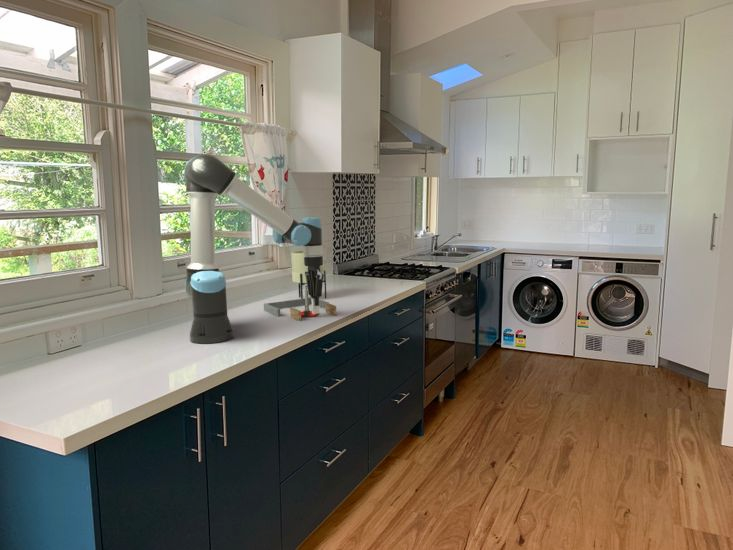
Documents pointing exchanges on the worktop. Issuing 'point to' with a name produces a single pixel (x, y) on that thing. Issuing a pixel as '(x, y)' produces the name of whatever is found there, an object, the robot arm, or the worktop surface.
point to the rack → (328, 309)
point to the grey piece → (288, 305)
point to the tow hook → (307, 307)
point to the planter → (303, 270)
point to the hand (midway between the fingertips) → (315, 313)
